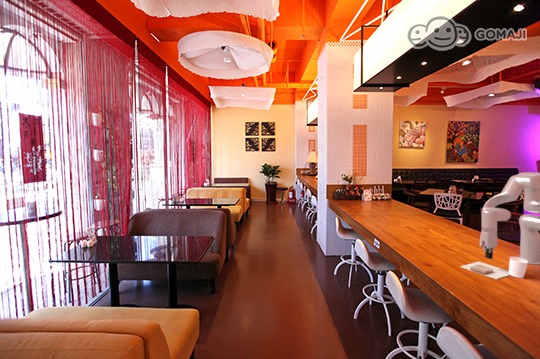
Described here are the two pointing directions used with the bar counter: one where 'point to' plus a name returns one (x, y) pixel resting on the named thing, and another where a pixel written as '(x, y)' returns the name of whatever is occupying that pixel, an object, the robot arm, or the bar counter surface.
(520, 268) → the white cup
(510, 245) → the bar counter surface
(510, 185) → the robot arm
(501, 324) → the bar counter surface
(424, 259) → the bar counter surface
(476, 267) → the tile
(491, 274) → the mat
